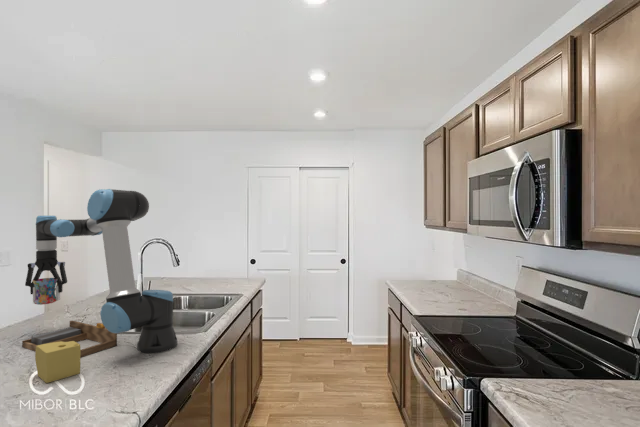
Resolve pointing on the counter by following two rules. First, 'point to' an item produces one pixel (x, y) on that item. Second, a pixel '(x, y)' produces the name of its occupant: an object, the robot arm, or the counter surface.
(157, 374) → the counter surface
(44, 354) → the cheese
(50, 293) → the mug
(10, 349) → the counter surface
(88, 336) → the rack
